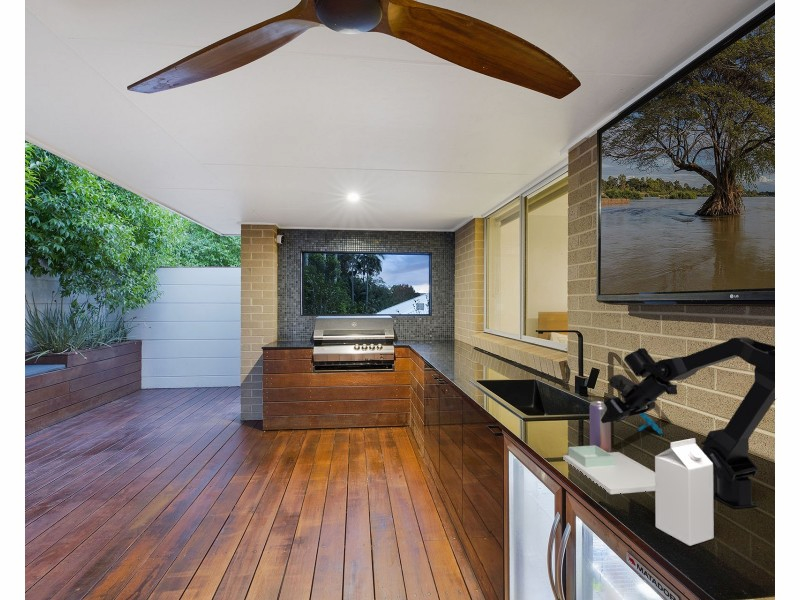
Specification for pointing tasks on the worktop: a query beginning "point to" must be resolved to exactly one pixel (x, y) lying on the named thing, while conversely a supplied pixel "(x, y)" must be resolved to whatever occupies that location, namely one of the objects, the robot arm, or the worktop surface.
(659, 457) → the milk carton
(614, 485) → the housing plate
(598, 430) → the beverage can
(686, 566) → the worktop surface
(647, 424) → the blue irregular branched piece
